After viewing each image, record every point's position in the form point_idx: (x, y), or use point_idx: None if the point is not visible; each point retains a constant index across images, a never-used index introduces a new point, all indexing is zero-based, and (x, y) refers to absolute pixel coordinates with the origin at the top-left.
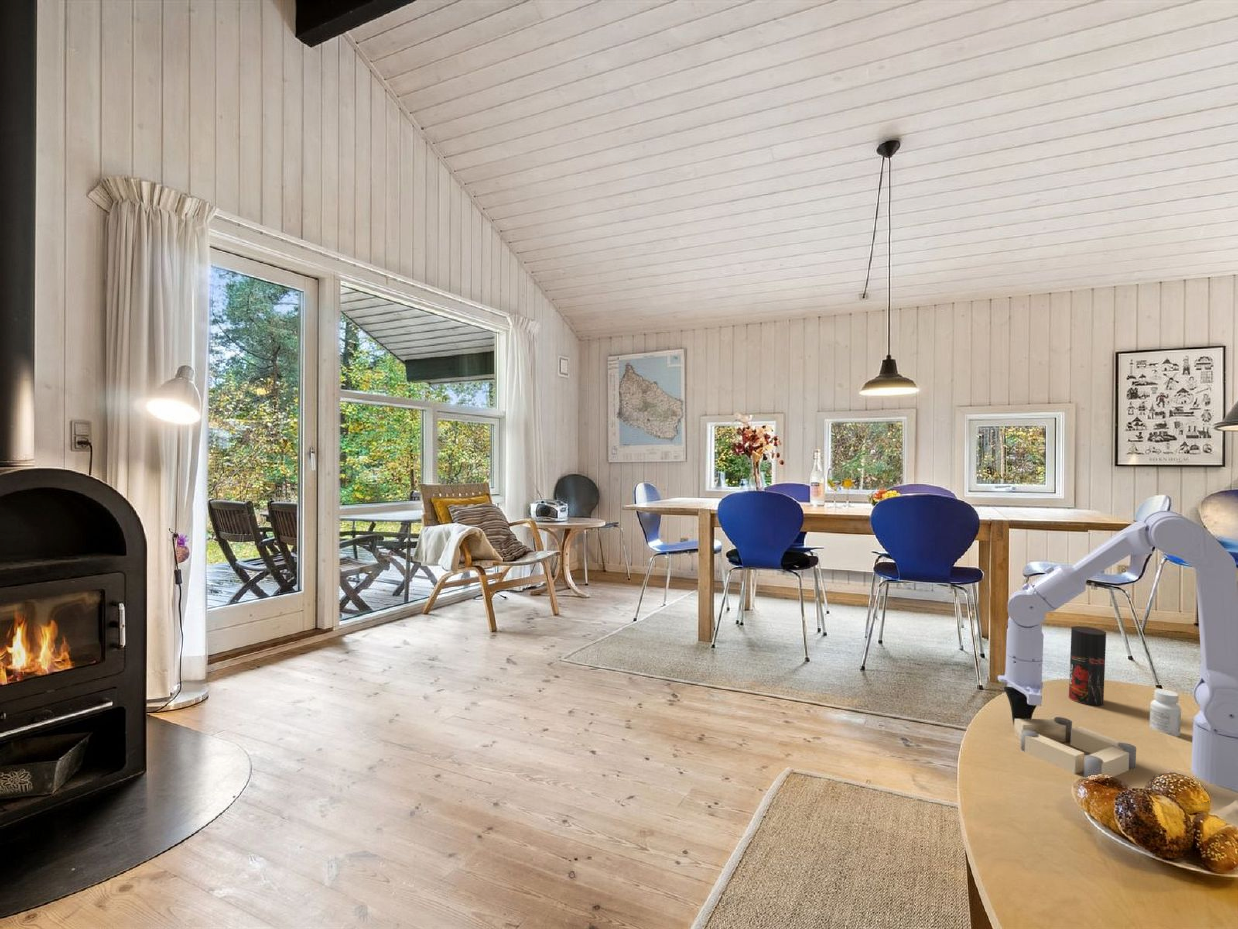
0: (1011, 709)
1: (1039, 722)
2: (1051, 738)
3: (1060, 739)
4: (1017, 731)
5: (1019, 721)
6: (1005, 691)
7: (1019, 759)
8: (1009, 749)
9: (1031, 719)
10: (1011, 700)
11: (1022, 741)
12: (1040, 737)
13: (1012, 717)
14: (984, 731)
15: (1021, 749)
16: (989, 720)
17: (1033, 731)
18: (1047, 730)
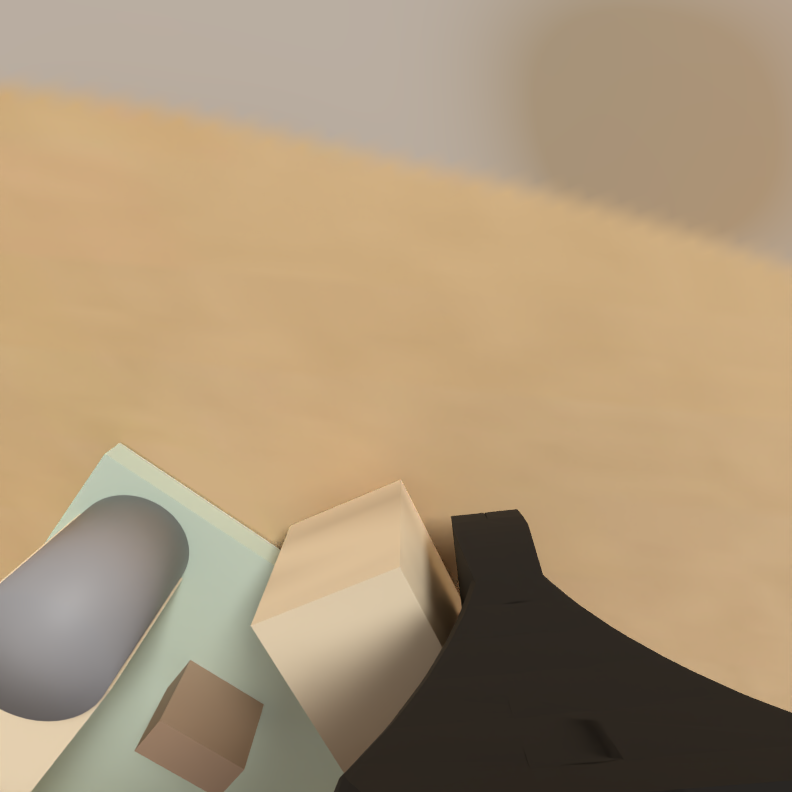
0: (535, 591)
1: None
2: None
3: None
4: (349, 525)
5: (336, 605)
6: (715, 749)
7: (3, 457)
8: (153, 408)
9: None
10: (387, 735)
11: (49, 543)
12: (10, 725)
13: (514, 542)
14: (449, 236)
15: (107, 498)
16: (754, 305)
17: (92, 696)
18: None
